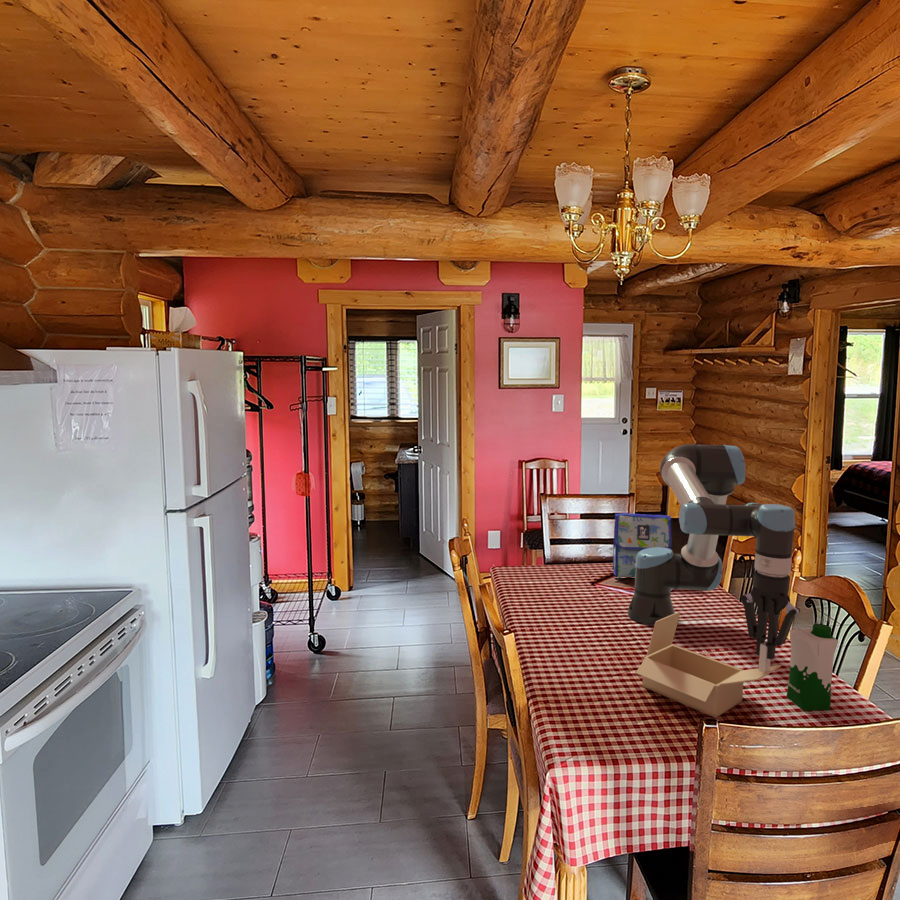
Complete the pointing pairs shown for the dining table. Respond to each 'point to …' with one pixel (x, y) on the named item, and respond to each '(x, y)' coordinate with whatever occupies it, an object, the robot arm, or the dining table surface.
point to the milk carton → (811, 667)
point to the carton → (691, 679)
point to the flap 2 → (749, 675)
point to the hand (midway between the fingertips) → (764, 670)
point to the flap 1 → (663, 633)
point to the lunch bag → (637, 539)
